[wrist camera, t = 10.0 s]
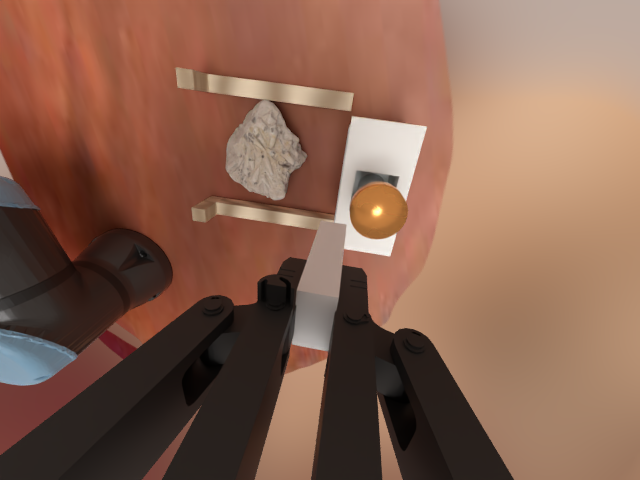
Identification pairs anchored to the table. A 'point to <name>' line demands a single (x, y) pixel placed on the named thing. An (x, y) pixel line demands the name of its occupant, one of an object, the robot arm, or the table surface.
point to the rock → (264, 152)
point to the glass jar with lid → (377, 208)
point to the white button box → (376, 170)
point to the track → (272, 93)
